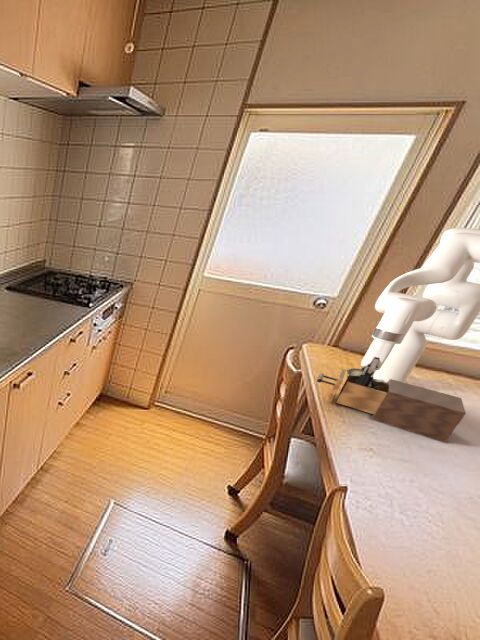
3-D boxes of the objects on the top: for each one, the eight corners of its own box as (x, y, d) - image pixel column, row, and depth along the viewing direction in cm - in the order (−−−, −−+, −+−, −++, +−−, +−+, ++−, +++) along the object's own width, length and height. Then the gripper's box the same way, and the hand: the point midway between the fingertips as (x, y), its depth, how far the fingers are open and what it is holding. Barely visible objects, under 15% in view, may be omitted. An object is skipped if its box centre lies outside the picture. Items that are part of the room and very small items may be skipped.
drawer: (308, 395, 153) (320, 374, 149) (314, 385, 162) (324, 364, 158) (387, 420, 140) (401, 397, 136) (388, 407, 149) (401, 385, 145)
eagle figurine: (359, 393, 151) (339, 374, 152) (380, 380, 148) (360, 361, 149) (368, 396, 144) (348, 376, 145) (390, 383, 141) (369, 363, 142)
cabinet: (371, 419, 142) (388, 391, 137) (373, 405, 152) (389, 378, 147) (444, 442, 132) (465, 413, 127) (441, 425, 141) (461, 398, 136)
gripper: (374, 327, 147) (350, 372, 155) (372, 338, 135) (346, 385, 143) (403, 333, 142) (376, 379, 150) (403, 345, 131) (374, 394, 139)
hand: (362, 382), depth 147 cm, fingers closed on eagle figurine, 8 cm apart
